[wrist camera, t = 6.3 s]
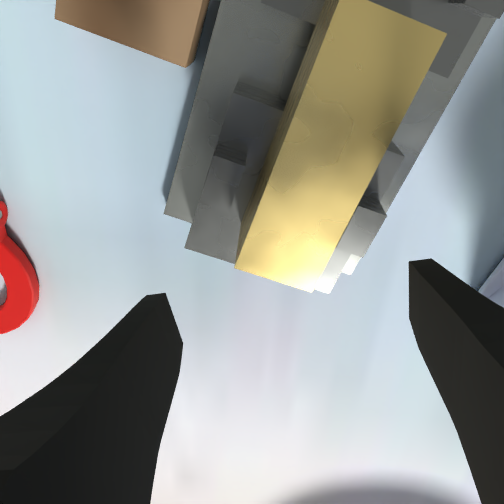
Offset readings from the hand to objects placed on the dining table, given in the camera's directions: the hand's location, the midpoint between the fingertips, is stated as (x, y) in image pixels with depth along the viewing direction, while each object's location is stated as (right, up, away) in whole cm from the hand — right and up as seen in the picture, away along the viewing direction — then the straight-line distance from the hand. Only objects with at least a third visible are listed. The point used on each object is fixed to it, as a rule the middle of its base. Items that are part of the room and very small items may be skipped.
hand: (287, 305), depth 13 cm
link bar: (+1, +6, +4) cm, 7 cm away
